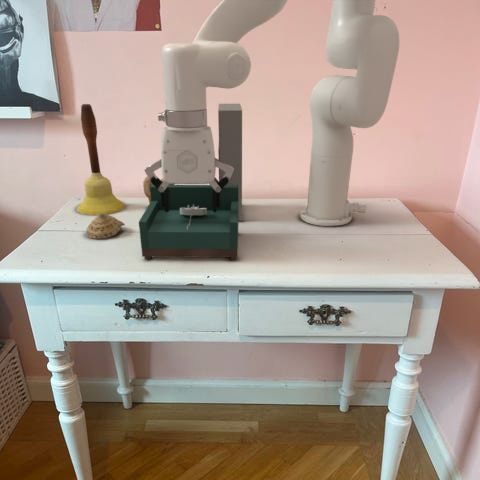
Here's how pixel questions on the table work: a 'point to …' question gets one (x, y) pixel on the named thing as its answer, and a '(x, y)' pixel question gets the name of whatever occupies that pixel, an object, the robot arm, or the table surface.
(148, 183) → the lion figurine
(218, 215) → the sofa
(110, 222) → the seashell
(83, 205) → the handbell
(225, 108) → the tall grey pillar
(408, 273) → the table surface
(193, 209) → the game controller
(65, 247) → the table surface
